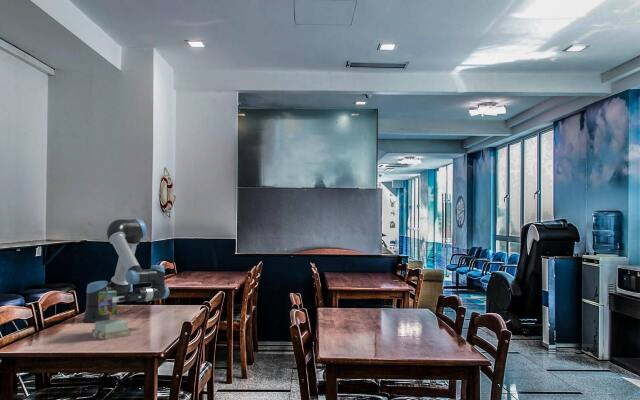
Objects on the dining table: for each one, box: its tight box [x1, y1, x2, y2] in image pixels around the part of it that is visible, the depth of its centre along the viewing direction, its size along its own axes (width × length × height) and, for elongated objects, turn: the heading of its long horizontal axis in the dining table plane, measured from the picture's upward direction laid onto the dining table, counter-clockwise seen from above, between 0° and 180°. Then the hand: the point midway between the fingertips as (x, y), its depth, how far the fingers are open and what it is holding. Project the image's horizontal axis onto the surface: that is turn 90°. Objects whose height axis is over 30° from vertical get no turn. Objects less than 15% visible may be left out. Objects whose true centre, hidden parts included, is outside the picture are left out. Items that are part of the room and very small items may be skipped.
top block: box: [94, 318, 129, 333], centre depth 280 cm, size 12×12×4 cm
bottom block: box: [91, 328, 132, 341], centre depth 280 cm, size 14×14×4 cm
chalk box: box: [98, 286, 118, 316], centre depth 278 cm, size 9×9×15 cm
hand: (106, 298), depth 278 cm, fingers closed on chalk box, 12 cm apart
